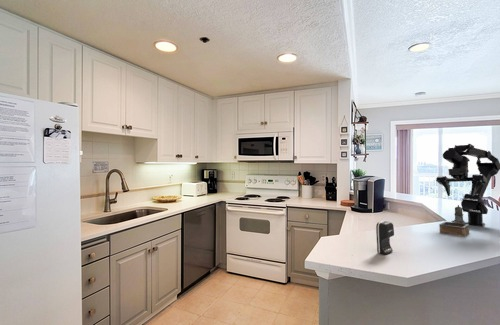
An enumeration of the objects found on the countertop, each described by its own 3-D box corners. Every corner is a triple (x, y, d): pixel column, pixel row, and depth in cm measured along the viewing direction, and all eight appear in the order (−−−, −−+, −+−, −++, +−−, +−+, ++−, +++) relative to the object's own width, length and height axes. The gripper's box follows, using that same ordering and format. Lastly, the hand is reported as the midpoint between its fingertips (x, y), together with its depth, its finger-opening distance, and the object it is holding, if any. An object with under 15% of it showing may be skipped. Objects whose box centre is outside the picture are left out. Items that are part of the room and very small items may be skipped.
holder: (445, 229, 121) (445, 221, 121) (469, 232, 114) (468, 224, 114) (439, 232, 116) (439, 224, 116) (464, 236, 108) (464, 227, 108)
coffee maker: (387, 256, 87) (386, 224, 88) (376, 253, 90) (375, 222, 91) (396, 251, 91) (394, 221, 92) (385, 249, 95) (384, 219, 95)
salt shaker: (470, 230, 117) (469, 205, 117) (458, 230, 117) (457, 205, 118) (460, 227, 123) (459, 203, 123) (448, 227, 123) (447, 204, 123)
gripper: (432, 162, 128) (430, 190, 124) (479, 158, 113) (479, 190, 108) (441, 170, 134) (440, 197, 129) (487, 167, 118) (487, 198, 114)
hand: (460, 196), depth 120 cm, fingers open, 9 cm apart
